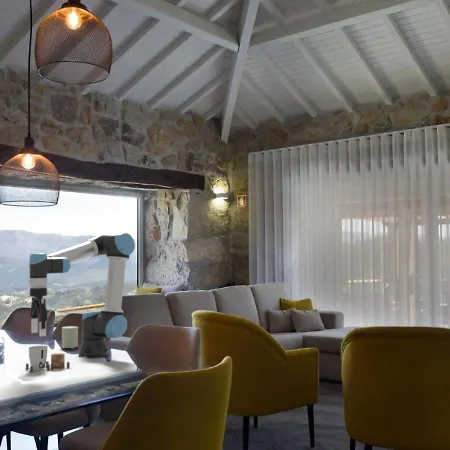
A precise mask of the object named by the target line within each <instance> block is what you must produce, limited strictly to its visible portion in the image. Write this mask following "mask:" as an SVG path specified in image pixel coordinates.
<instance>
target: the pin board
mask: <svg viewBox="0 0 450 450" xmlns="http://www.w3.org/2000/svg"><path fill="white" fill-rule="evenodd" d="M49 362H50V361H48V360H46V364H45V367H44V369H43V370H33V366H31V365H30V363H25V368H24V370H25V371H27V372H28V373H29V374H36V373H37V374H39V373H47V372H55V371H64V370H72V369H73V368H72V367H70V366H71V365H70V361H67V362H66V364H65V367H64V368H59V369H53V364H51V363H49Z"/></svg>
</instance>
